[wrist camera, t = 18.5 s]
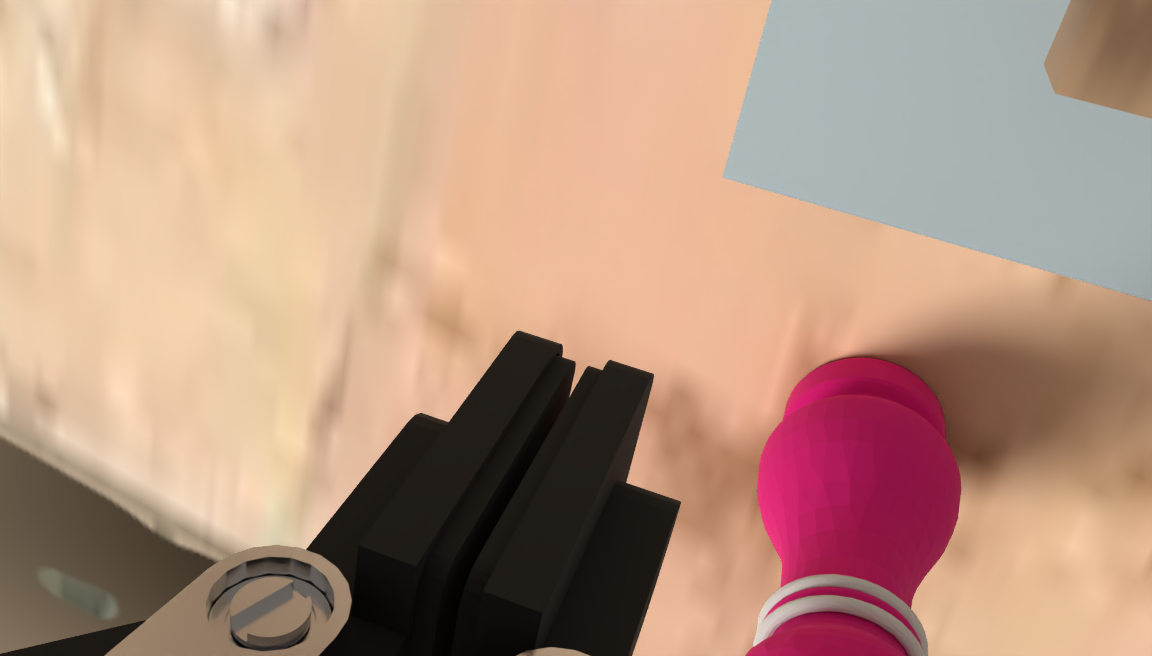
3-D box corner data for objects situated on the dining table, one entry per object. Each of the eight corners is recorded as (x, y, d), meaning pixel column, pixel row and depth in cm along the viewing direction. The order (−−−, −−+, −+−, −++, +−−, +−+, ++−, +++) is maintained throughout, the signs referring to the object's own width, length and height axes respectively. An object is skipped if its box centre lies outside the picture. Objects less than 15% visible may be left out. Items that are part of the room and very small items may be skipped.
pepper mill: (806, 509, 44) (730, 962, 27) (748, 368, 42) (625, 768, 25) (980, 479, 41) (1014, 969, 24) (927, 324, 39) (925, 748, 22)
